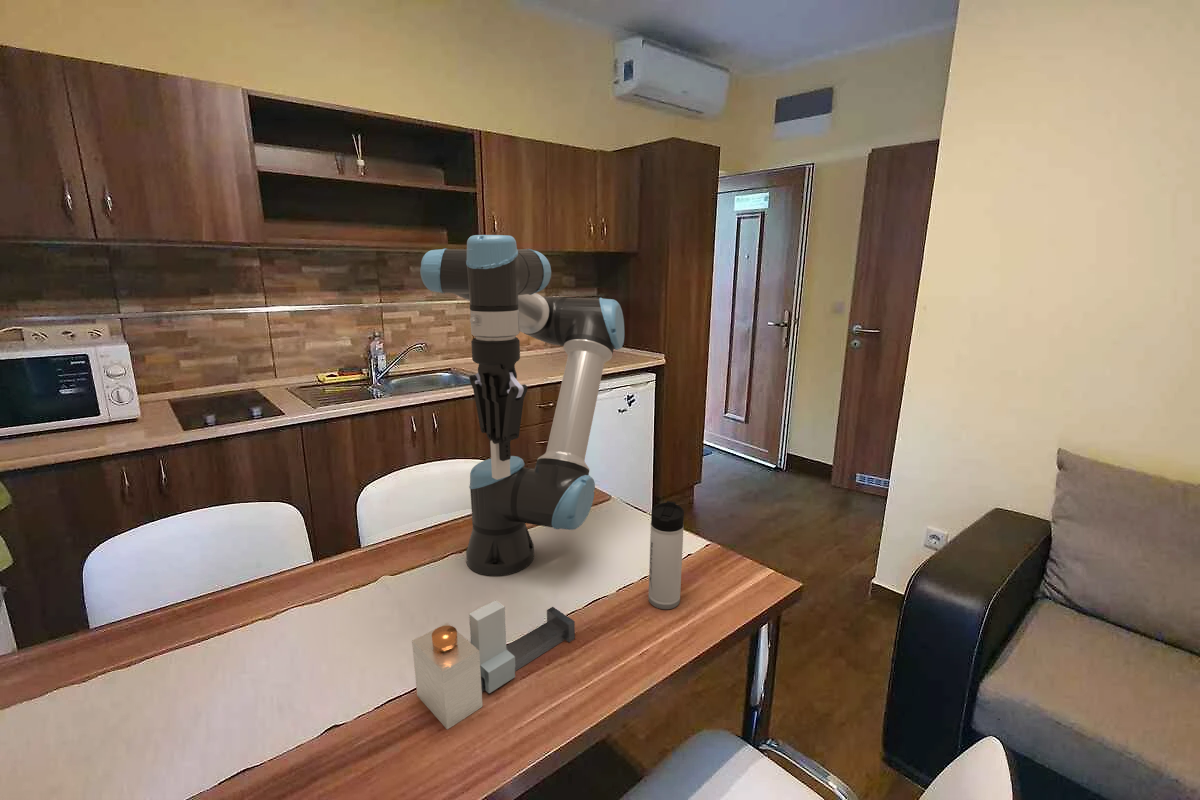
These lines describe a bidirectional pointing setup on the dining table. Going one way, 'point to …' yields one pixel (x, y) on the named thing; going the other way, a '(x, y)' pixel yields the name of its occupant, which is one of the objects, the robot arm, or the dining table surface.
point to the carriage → (492, 645)
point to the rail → (475, 667)
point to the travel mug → (666, 555)
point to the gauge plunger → (444, 638)
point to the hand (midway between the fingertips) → (501, 476)
